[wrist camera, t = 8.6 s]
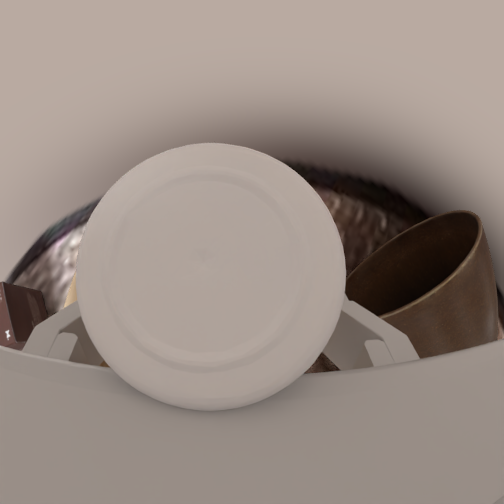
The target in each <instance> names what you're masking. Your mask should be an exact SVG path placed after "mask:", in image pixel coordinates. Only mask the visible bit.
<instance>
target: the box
mask: <svg viewBox="0 0 504 504" xmlns="http://www.w3.org/2000/svg"><path fill="white" fill-rule="evenodd" d="M46 319H48V316H47V312H46V308H45V304H44V300H43V297H42V293H41V291H38V290H33V289H29V288H25V287H21V286H16V285H12V284H8V283H5V282H0V346H4V347H7V348H11V349H15V350H19V351H22V350H23V348H24V346H25V344H26V342H27V340H28V339H29V337H30V335H31V333H32V331H33V330H34V328H35V326H37V325H38V324H40V323H41V322H43V321H44V320H46Z"/></svg>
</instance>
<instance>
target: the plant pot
mask: <svg viewBox="0 0 504 504" xmlns="http://www.w3.org/2000/svg"><path fill="white" fill-rule="evenodd" d="M345 294H346V296H347V298H348V300H349V301H354V302H356V303H357V304H359V305H360V306H362V307H363V308H365V309H366V310H368V311H370V312H371V313H373V314H374V315H376V316H377V317H379V318H380V319H382V320H384V321H385V322H387V323H388V324H390V325H391V326H393V327H394V328H396V329H398V330H399V331H401V332H402V333H404V334H405V335H407V337H408V339H409V340H410V342H411V344H412V345H413V347H414V349H415V351H416V352H417V354H418V356H419V358H420V359H423V358H428V357H433V356H437V355H442V354H447V353H451V352H455V351H459V350H464V349H468V348H471V347H475V346H479V345H483V344H486V343H490V342H493V341H497V337H498V303H497V291H496V283H495V276H494V270H493V265H492V260H491V255H490V251H489V247H488V243H487V240H486V236H485V233H484V229H483V226H482V222H481V220H480V218H479V217H478V216H477V215H476V214H475V213H473V212H470V211H465V210H459V211H451V212H447V213H443V214H440V215H437V216H434V217H431V218H429V219H427V220H425V221H423V222H420V223H418V224H416V225H414V226H413V227H411V228H409V229H407V230H406V231H404V232H402V233H401V234H399V235H397V236H396V237H394V238H393V239H391V240H390V241H388V242H387V243H386V244H384V245H383V246H381V247H380V248H379V249H377V250H376V251H375V252H374V253H372V254H371V255H370V256H369V257H367V258H366V259H365V260H364V261H363V262H362V263H361V264H359V265H358V266H357V267H356V268H355V269H354V270H353V271H352V272H351V273H350V275H349V276H348V277H347V278H346V284H345Z"/></svg>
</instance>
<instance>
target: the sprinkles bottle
mask: <svg viewBox="0 0 504 504" xmlns="http://www.w3.org/2000/svg"><path fill="white" fill-rule="evenodd" d="M345 284H346V266H345V256H344V250H343V245H342V242H341V239H340V236H339V232H338V229H337V227H336V224H335V222H334V220H333V218H332V216H331V214H330V212H329V210H328V208H327V207H326V205H325V204H324V202H323V200H322V199H321V197H320V196H319V195H318V194H317V193H316V191H315V190H314V189H313V188H312V187H311V186H310V185H309V184H308V183H307V182H306V181H305V180H304V179H303V178H302V177H301V176H300V175H299V174H298V173H297V172H295V171H294V170H293V169H291V168H290V167H288V166H287V165H285V164H284V163H282V162H281V161H279V160H277V159H275V158H273V157H271V156H269V155H267V154H265V153H262V152H259V151H256V150H253V149H250V148H247V147H243V146H236V145H231V144H223V143H199V144H191V145H186V146H182V147H178V148H173V149H170V150H168V151H165V152H162V153H160V154H157V155H155V156H153V157H151V158H149V159H147V160H145V161H144V162H142V163H140V164H138V165H137V166H135V167H134V168H132V169H131V170H130V171H128V172H127V173H126V174H124V175H123V176H122V177H121V178H120V179H119V180H118V181H117V182H116V183H115V184H114V185H113V186H112V187H111V188H110V189H109V190H108V191H107V193H106V194H105V195H104V196H103V198H102V199H101V201H100V202H99V204H98V205H97V207H96V208H95V210H94V211H93V213H92V215H91V217H90V219H89V221H88V223H87V225H86V227H85V230H84V233H83V236H82V239H81V242H80V246H79V251H78V255H77V262H76V292H77V301H78V305H79V309H80V313H81V317H82V320H83V323H84V325H85V328H86V331H87V333H88V335H89V337H90V339H91V341H92V343H93V344H94V346H95V348H96V349H97V351H98V352H99V354H100V355H101V356H102V358H103V359H104V360H105V362H106V363H107V364H108V366H109V367H111V368H112V369H113V370H114V372H115V373H116V374H117V375H119V376H120V377H121V378H122V379H123V380H124V381H126V382H127V383H128V384H130V385H131V386H132V387H134V388H135V389H137V390H138V391H140V392H142V393H143V394H145V395H147V396H149V397H151V398H153V399H156V400H158V401H161V402H163V403H166V404H169V405H173V406H176V407H180V408H185V409H191V410H199V411H219V410H227V409H234V408H240V407H243V406H247V405H250V404H253V403H256V402H259V401H262V400H264V399H266V398H268V397H270V396H272V395H274V394H276V393H278V392H279V391H281V390H283V389H284V388H286V387H287V386H289V385H290V384H291V383H292V382H294V381H295V380H296V379H297V378H299V377H300V376H301V375H302V374H303V373H305V372H306V371H307V370H308V369H309V368H310V367H311V365H312V364H313V363H314V362H315V361H316V359H317V358H318V356H319V355H320V353H321V352H322V351H323V349H324V348H325V346H326V345H327V343H328V341H329V339H330V337H331V335H332V333H333V332H334V330H335V327H336V325H337V322H338V320H339V317H340V313H341V309H342V305H343V301H344V294H345Z"/></svg>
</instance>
